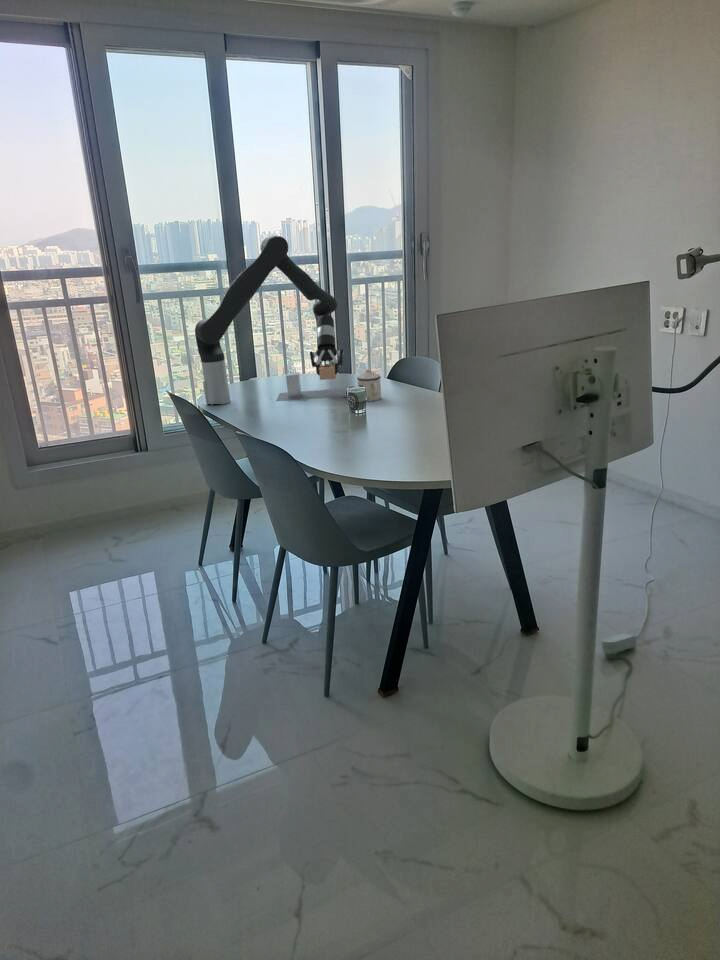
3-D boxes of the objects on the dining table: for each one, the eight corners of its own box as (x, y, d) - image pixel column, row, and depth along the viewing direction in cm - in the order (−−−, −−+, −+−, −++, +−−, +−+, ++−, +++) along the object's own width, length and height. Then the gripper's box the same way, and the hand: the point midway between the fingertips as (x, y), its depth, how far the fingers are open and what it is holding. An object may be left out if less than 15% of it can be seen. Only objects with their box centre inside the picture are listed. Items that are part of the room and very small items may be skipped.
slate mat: (276, 402, 262) (275, 401, 261) (280, 394, 275) (279, 392, 275) (346, 397, 261) (346, 396, 261) (346, 389, 274) (346, 388, 274)
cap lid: (320, 379, 263) (318, 366, 261) (320, 376, 268) (319, 363, 266) (335, 378, 262) (334, 365, 260) (336, 375, 268) (334, 362, 266)
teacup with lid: (355, 398, 259) (353, 369, 255) (376, 394, 262) (374, 365, 258) (366, 404, 249) (364, 374, 244) (388, 401, 251) (386, 370, 247)
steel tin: (288, 397, 266) (285, 375, 262) (289, 394, 270) (287, 373, 267) (300, 396, 265) (298, 374, 262) (301, 393, 270) (299, 372, 267)
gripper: (307, 334, 267) (308, 369, 260) (342, 332, 266) (344, 367, 259) (309, 345, 273) (310, 380, 267) (344, 343, 273) (346, 377, 266)
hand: (327, 373), depth 263 cm, fingers closed on cap lid, 6 cm apart
